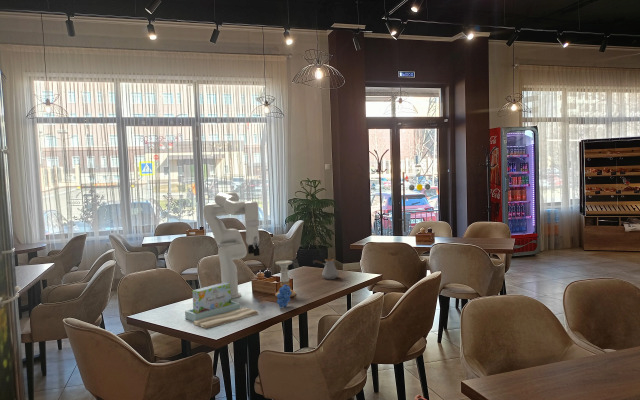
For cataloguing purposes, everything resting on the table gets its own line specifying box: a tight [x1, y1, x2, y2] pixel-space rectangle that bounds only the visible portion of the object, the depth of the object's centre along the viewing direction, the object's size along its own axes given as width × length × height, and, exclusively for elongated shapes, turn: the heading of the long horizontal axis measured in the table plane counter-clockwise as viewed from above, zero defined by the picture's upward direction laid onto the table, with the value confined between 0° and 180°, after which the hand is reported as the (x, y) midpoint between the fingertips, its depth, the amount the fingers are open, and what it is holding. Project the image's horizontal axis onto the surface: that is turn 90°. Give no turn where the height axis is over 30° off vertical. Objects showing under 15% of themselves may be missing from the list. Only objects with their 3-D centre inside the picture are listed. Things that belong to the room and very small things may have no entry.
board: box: [193, 307, 259, 329], centre depth 233 cm, size 12×30×2 cm, turn 133°
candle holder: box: [274, 259, 297, 298], centre depth 276 cm, size 12×12×20 cm
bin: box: [184, 300, 241, 323], centre depth 242 cm, size 11×26×4 cm, turn 133°
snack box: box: [192, 282, 232, 314], centre depth 242 cm, size 21×6×15 cm, turn 143°
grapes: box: [276, 284, 292, 309], centre depth 250 cm, size 12×7×12 cm, turn 146°
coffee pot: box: [313, 258, 339, 280], centre depth 314 cm, size 21×12×15 cm, turn 137°
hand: (253, 254), depth 256 cm, fingers open, 9 cm apart
